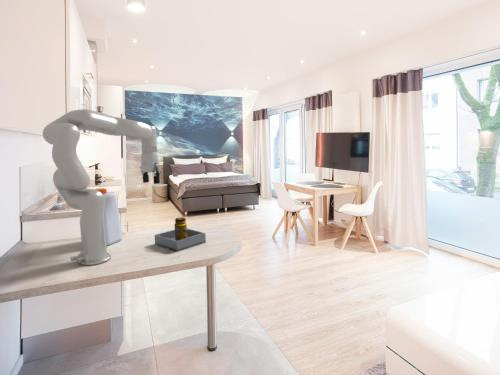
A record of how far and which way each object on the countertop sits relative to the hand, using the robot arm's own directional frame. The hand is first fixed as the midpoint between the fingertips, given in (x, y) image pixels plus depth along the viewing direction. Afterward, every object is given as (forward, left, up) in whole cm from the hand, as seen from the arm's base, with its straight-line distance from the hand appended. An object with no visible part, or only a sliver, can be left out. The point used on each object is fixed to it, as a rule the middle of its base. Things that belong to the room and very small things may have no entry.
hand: (151, 183), depth 165 cm
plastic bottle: (-19, +17, -31) cm, 40 cm away
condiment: (+4, -17, -30) cm, 34 cm away
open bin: (+4, -17, -30) cm, 35 cm away
